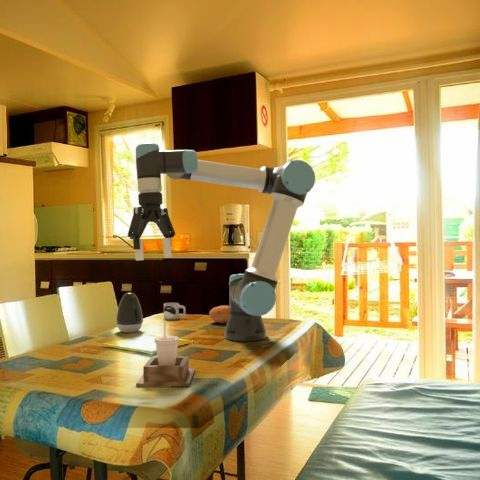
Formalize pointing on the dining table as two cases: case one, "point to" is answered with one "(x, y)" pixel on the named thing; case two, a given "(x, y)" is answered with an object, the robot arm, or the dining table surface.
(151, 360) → the box
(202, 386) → the dining table surface
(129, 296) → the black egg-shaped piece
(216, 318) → the potato
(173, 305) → the mug
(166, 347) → the smoothie
